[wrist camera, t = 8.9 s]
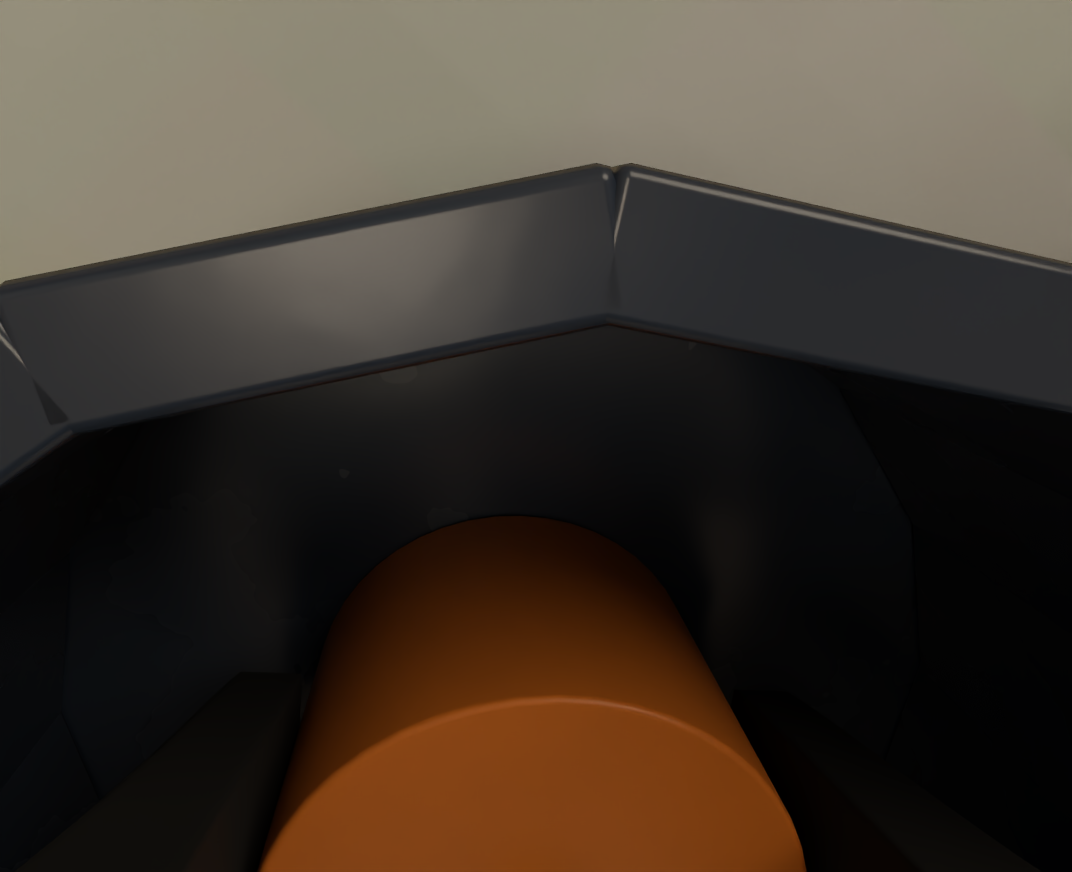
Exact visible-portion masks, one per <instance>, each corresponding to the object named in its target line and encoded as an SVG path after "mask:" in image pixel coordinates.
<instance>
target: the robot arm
mask: <svg viewBox="0 0 1072 872" xmlns="http://www.w3.org/2000/svg"><path fill="white" fill-rule="evenodd" d="M300 706H301V674H295V673H268V672H240V673H238V674H237V675H236V676H235V677H233V678H232V679H231V680H230V681H229V682H227V683H226V684H225V685H224V686H223V687H222V688H221V689H220V690H219V691H218V692H217V693H216V694H215V695H214V696H213V697H212V698H211V699H209V700H208V701H207V702H206V703H205V704H204V705H203V706H202V707H201V708H200V709H199V710H198V711H197V712H196V713H195V714H194V715H193V716H192V717H191V718H190V719H189V720H188V721H186V722H185V723H184V724H183V725H182V726H181V727H180V728H179V729H178V730H177V731H176V732H175V733H174V734H173V735H172V736H171V737H169V738H168V739H167V740H166V741H165V742H164V743H163V744H162V745H161V746H160V747H159V748H158V749H157V750H156V751H155V752H153V753H152V754H151V755H150V756H149V757H148V758H147V759H146V760H145V761H144V762H142V763H141V764H140V765H139V766H138V767H137V768H136V769H135V770H133V771H132V772H131V773H130V774H129V775H128V776H127V777H126V778H124V779H123V780H122V781H121V782H120V783H119V784H118V785H117V786H115V787H114V788H113V789H112V790H111V791H110V792H109V793H108V794H106V795H105V796H104V797H103V798H102V799H101V800H100V801H99V802H98V803H96V804H95V805H94V806H93V807H92V808H91V809H90V810H88V811H87V812H86V813H85V814H84V815H83V816H81V817H80V818H79V819H78V820H77V821H76V822H74V823H73V824H72V825H71V826H70V827H68V828H67V829H66V830H65V831H63V832H62V833H61V834H60V835H59V836H57V837H56V838H55V839H54V840H52V841H51V842H50V843H49V844H47V845H46V846H45V847H44V848H43V849H41V850H40V851H39V852H38V853H36V854H35V855H34V856H33V857H32V858H30V859H29V860H28V861H27V862H25V863H24V864H23V865H22V866H20V867H19V868H18V869H17V870H16V871H14V872H257V869H258V866H259V862H260V859H261V856H262V852H263V849H264V846H265V842H266V839H267V835H268V832H269V829H270V825H271V822H272V818H273V815H274V812H275V808H276V805H277V802H278V798H279V795H280V791H281V788H282V785H283V781H284V778H285V774H286V771H287V768H288V764H289V761H290V758H291V754H292V751H293V747H294V744H295V741H296V737H297V734H298V730H299V727H300ZM731 709H732V711H733V713H734V714H735V716H736V718H737V720H738V722H739V724H740V725H741V727H742V729H743V731H744V733H745V735H746V736H747V738H748V740H749V742H750V744H751V746H752V747H753V749H754V751H755V753H756V755H757V757H758V758H759V760H760V762H761V764H762V766H763V768H764V769H765V771H766V773H767V775H768V777H769V779H770V780H771V782H772V784H773V786H774V788H775V790H776V791H777V793H778V795H779V797H780V799H781V801H782V802H783V804H784V806H785V808H786V810H787V811H788V813H789V815H790V817H791V819H792V821H793V824H794V827H795V829H796V832H797V835H798V837H799V840H800V843H801V845H802V849H803V855H804V860H805V865H806V870H807V872H1042V871H1040V870H1039V869H1037V868H1036V867H1034V866H1033V865H1031V864H1030V863H1028V862H1027V861H1025V860H1024V859H1022V858H1021V857H1019V856H1018V855H1016V854H1015V853H1013V852H1012V851H1010V850H1009V849H1007V848H1006V847H1004V846H1003V845H1002V844H1000V843H999V842H997V841H996V840H994V839H993V838H992V837H990V836H989V835H987V834H986V833H984V832H983V831H982V830H980V829H979V828H977V827H976V826H974V825H973V824H972V823H970V822H969V821H967V820H966V819H965V818H963V817H962V816H960V815H959V814H958V813H956V812H955V811H953V810H952V809H951V808H949V807H948V806H946V805H945V804H944V803H942V802H941V801H939V800H938V799H937V798H935V797H934V796H933V795H931V794H930V793H928V792H927V791H926V790H924V789H923V788H922V787H920V786H919V785H917V784H916V783H915V782H913V781H912V780H911V779H909V778H908V777H907V776H905V775H904V774H903V773H901V772H900V771H898V770H897V769H896V768H894V767H893V766H892V765H890V764H889V763H888V762H886V761H885V760H884V759H882V758H881V757H879V756H878V755H877V754H875V753H874V752H873V751H871V750H870V749H869V748H867V747H866V746H865V745H863V744H862V743H861V742H859V741H858V740H856V739H855V738H854V737H852V736H851V735H850V734H848V733H847V732H846V731H844V730H843V729H841V728H840V727H839V726H837V725H836V724H834V723H833V722H832V721H830V720H829V719H828V718H826V717H825V716H823V715H822V714H820V713H819V712H818V711H816V710H815V709H813V708H812V707H810V706H809V705H807V704H806V703H804V702H803V701H801V700H800V699H798V698H796V697H795V696H793V695H792V694H790V693H788V692H786V691H759V690H734V692H733V697H732V702H731Z"/></svg>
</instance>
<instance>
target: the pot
mask: <svg viewBox="0 0 1072 872" xmlns="http://www.w3.org/2000/svg"><path fill="white" fill-rule="evenodd" d="M494 516H531V517H541V518H549V519H553V520H558V521H562V522H567V523H571V524H574V525H577V526H580V527H582V528H585V529H588V530H591V531H594V532H596V533H598V534H600V535H602V536H603V537H605V538H607V539H609V540H611V541H613V542H615V543H617V544H618V545H620V546H621V547H622V548H624V549H625V550H627V551H628V552H630V553H631V554H632V555H634V556H635V557H636V558H637V559H638V560H639V561H640V562H642V563H643V564H644V565H645V566H646V567H647V568H648V569H649V570H650V571H651V572H652V573H653V574H654V576H655V577H656V578H657V579H658V581H659V582H660V583H661V584H662V586H663V587H664V588H665V589H666V591H667V593H668V594H669V596H670V598H671V600H672V601H673V603H674V605H675V607H676V608H677V610H678V612H679V614H680V616H681V617H682V619H683V621H684V623H685V625H686V627H687V628H688V630H689V632H690V634H691V636H692V638H693V639H694V641H695V643H696V645H697V647H698V649H699V650H700V652H701V654H702V656H703V658H704V660H705V661H706V663H707V665H708V667H709V669H710V671H711V672H712V674H713V676H714V678H715V680H716V681H717V683H718V685H719V687H720V689H721V691H722V692H723V694H724V696H725V698H726V700H727V702H728V703H729V705H730V707H731V702H732V697H733V692H734V690H759V691H786V692H788V693H790V694H792V695H793V696H795V697H796V698H798V699H800V700H801V701H803V702H804V703H806V704H807V705H809V706H810V707H812V708H813V709H815V710H816V711H818V712H819V713H820V714H822V715H823V716H825V717H826V718H828V719H829V720H830V721H832V722H833V723H834V724H836V725H837V726H839V727H840V728H841V729H843V730H844V731H846V732H847V733H848V734H850V735H851V736H852V737H854V738H855V739H856V740H858V741H859V742H861V743H862V744H863V745H865V746H866V747H867V748H869V749H870V750H871V751H873V752H874V753H875V754H877V755H878V756H879V757H881V758H882V759H884V760H885V761H886V762H888V763H889V764H890V765H892V766H893V767H894V768H896V769H897V770H898V771H900V772H901V773H903V774H904V775H905V776H907V777H908V778H909V779H911V780H912V781H913V782H915V783H916V784H917V785H919V786H920V787H922V788H923V789H924V790H926V791H927V792H928V793H930V794H931V795H933V796H934V797H935V798H937V799H938V800H939V801H941V802H942V803H944V804H945V805H946V806H948V807H949V808H951V809H952V810H953V811H955V812H956V813H958V814H959V815H960V816H962V817H963V818H965V819H966V820H967V821H969V822H970V823H972V824H973V825H974V826H976V827H977V828H979V829H980V830H982V831H983V832H984V833H986V834H987V835H989V836H990V837H992V838H993V839H994V840H996V841H997V842H999V843H1000V844H1002V845H1003V846H1004V847H1006V848H1007V849H1009V850H1010V851H1012V852H1013V853H1015V854H1016V855H1018V856H1019V857H1021V858H1022V859H1024V860H1025V861H1027V862H1028V863H1030V864H1031V865H1033V866H1034V867H1036V868H1037V869H1039V870H1040V871H1042V872H1072V263H1068V262H1064V261H1059V260H1055V259H1050V258H1046V257H1042V256H1037V255H1033V254H1028V253H1024V252H1020V251H1015V250H1011V249H1006V248H1002V247H998V246H993V245H989V244H985V243H980V242H976V241H971V240H967V239H963V238H958V237H954V236H949V235H945V234H941V233H936V232H932V231H927V230H923V229H919V228H914V227H910V226H905V225H901V224H897V223H892V222H888V221H884V220H879V219H875V218H870V217H866V216H862V215H857V214H853V213H848V212H844V211H840V210H835V209H831V208H826V207H822V206H818V205H813V204H809V203H805V202H800V201H796V200H791V199H787V198H783V197H778V196H774V195H769V194H765V193H761V192H756V191H752V190H747V189H743V188H739V187H734V186H730V185H725V184H721V183H717V182H712V181H708V180H703V179H699V178H695V177H690V176H686V175H682V174H677V173H673V172H668V171H664V170H660V169H655V168H651V167H646V166H642V165H638V164H633V163H629V164H624V165H619V166H615V167H610V166H606V165H602V164H598V163H595V164H590V165H585V166H580V167H575V168H570V169H565V170H560V171H555V172H550V173H545V174H540V175H535V176H530V177H525V178H520V179H514V180H509V181H504V182H499V183H494V184H489V185H484V186H479V187H474V188H469V189H464V190H459V191H454V192H449V193H444V194H439V195H434V196H429V197H424V198H419V199H414V200H409V201H404V202H399V203H394V204H389V205H384V206H379V207H374V208H369V209H364V210H359V211H354V212H349V213H344V214H339V215H334V216H329V217H324V218H319V219H314V220H309V221H304V222H299V223H294V224H289V225H284V226H279V227H274V228H269V229H264V230H259V231H254V232H249V233H244V234H239V235H233V236H228V237H223V238H218V239H213V240H208V241H203V242H198V243H193V244H188V245H183V246H178V247H173V248H168V249H163V250H158V251H153V252H148V253H143V254H138V255H133V256H128V257H123V258H118V259H113V260H108V261H103V262H98V263H93V264H88V265H83V266H78V267H73V268H68V269H63V270H58V271H53V272H48V273H43V274H38V275H33V276H28V277H23V278H18V279H13V280H8V281H5V282H3V283H2V284H0V872H14V871H16V870H17V869H18V868H19V867H20V866H22V865H23V864H24V863H25V862H27V861H28V860H29V859H30V858H32V857H33V856H34V855H35V854H36V853H38V852H39V851H40V850H41V849H43V848H44V847H45V846H46V845H47V844H49V843H50V842H51V841H52V840H54V839H55V838H56V837H57V836H59V835H60V834H61V833H62V832H63V831H65V830H66V829H67V828H68V827H70V826H71V825H72V824H73V823H74V822H76V821H77V820H78V819H79V818H80V817H81V816H83V815H84V814H85V813H86V812H87V811H88V810H90V809H91V808H92V807H93V806H94V805H95V804H96V803H98V802H99V801H100V800H101V799H102V798H103V797H104V796H105V795H106V794H108V793H109V792H110V791H111V790H112V789H113V788H114V787H115V786H117V785H118V784H119V783H120V782H121V781H122V780H123V779H124V778H126V777H127V776H128V775H129V774H130V773H131V772H132V771H133V770H135V769H136V768H137V767H138V766H139V765H140V764H141V763H142V762H144V761H145V760H146V759H147V758H148V757H149V756H150V755H151V754H152V753H153V752H155V751H156V750H157V749H158V748H159V747H160V746H161V745H162V744H163V743H164V742H165V741H166V740H167V739H168V738H169V737H171V736H172V735H173V734H174V733H175V732H176V731H177V730H178V729H179V728H180V727H181V726H182V725H183V724H184V723H185V722H186V721H188V720H189V719H190V718H191V717H192V716H193V715H194V714H195V713H196V712H197V711H198V710H199V709H200V708H201V707H202V706H203V705H204V704H205V703H206V702H207V701H208V700H209V699H211V698H212V697H213V696H214V695H215V694H216V693H217V692H218V691H219V690H220V689H221V688H222V687H223V686H224V685H225V684H226V683H227V682H229V681H230V680H231V679H232V678H233V677H235V676H236V675H237V674H238V673H240V672H268V673H295V674H301V706H300V724H301V720H302V717H303V713H304V710H305V707H306V703H307V700H308V697H309V693H310V690H311V686H312V683H313V680H314V676H315V673H316V669H317V666H318V663H319V659H320V656H321V653H322V649H323V646H324V643H325V640H326V638H327V635H328V633H329V630H330V628H331V625H332V623H333V621H334V619H335V617H336V616H337V614H338V612H339V610H340V609H341V607H342V605H343V603H344V602H345V600H346V599H347V598H348V597H349V595H350V594H351V593H352V591H353V590H354V589H355V587H356V586H357V585H358V584H359V582H360V581H361V580H363V579H364V578H365V577H366V576H367V575H368V574H369V573H370V572H371V571H372V570H373V569H374V568H375V567H376V566H377V565H378V564H379V563H381V562H382V561H383V560H385V559H386V558H387V557H389V556H390V555H391V554H393V553H394V552H395V551H397V550H398V549H400V548H402V547H404V546H405V545H407V544H409V543H411V542H412V541H414V540H416V539H418V538H419V537H422V536H424V535H426V534H429V533H431V532H434V531H436V530H438V529H441V528H443V527H447V526H450V525H454V524H457V523H461V522H465V521H468V520H474V519H481V518H487V517H494Z"/></svg>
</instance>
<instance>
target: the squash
mask: <svg viewBox="0 0 1072 872" xmlns="http://www.w3.org/2000/svg"><path fill="white" fill-rule="evenodd" d="M257 872H807V870H806V865H805V860H804V855H803V849H802V845H801V843H800V840H799V837H798V835H797V832H796V829H795V827H794V824H793V821H792V819H791V817H790V815H789V813H788V811H787V810H786V808H785V806H784V804H783V802H782V801H781V799H780V797H779V795H778V793H777V791H776V790H775V788H774V786H773V784H772V782H771V780H770V779H769V777H768V775H767V773H766V771H765V769H764V768H763V766H762V764H761V762H760V760H759V758H758V757H757V755H756V753H755V751H754V749H753V747H752V746H751V744H750V742H749V740H748V738H747V736H746V735H745V733H744V731H743V729H742V727H741V725H740V724H739V722H738V720H737V718H736V716H735V714H734V713H733V711H732V709H731V707H730V705H729V703H728V702H727V700H726V698H725V696H724V694H723V692H722V691H721V689H720V687H719V685H718V683H717V681H716V680H715V678H714V676H713V674H712V672H711V671H710V669H709V667H708V665H707V663H706V661H705V660H704V658H703V656H702V654H701V652H700V650H699V649H698V647H697V645H696V643H695V641H694V639H693V638H692V636H691V634H690V632H689V630H688V628H687V627H686V625H685V623H684V621H683V619H682V617H681V616H680V614H679V612H678V610H677V608H676V607H675V605H674V603H673V601H672V600H671V598H670V596H669V594H668V593H667V591H666V589H665V588H664V587H663V586H662V584H661V583H660V582H659V581H658V579H657V578H656V577H655V576H654V574H653V573H652V572H651V571H650V570H649V569H648V568H647V567H646V566H645V565H644V564H643V563H642V562H640V561H639V560H638V559H637V558H636V557H635V556H634V555H632V554H631V553H630V552H628V551H627V550H625V549H624V548H622V547H621V546H620V545H618V544H617V543H615V542H613V541H611V540H609V539H607V538H605V537H603V536H602V535H600V534H598V533H596V532H594V531H591V530H588V529H585V528H582V527H580V526H577V525H574V524H571V523H567V522H562V521H558V520H553V519H549V518H541V517H531V516H494V517H487V518H481V519H474V520H468V521H465V522H461V523H457V524H454V525H450V526H447V527H443V528H441V529H438V530H436V531H434V532H431V533H429V534H426V535H424V536H422V537H419V538H418V539H416V540H414V541H412V542H411V543H409V544H407V545H405V546H404V547H402V548H400V549H398V550H397V551H395V552H394V553H393V554H391V555H390V556H389V557H387V558H386V559H385V560H383V561H382V562H381V563H379V564H378V565H377V566H376V567H375V568H374V569H373V570H372V571H371V572H370V573H369V574H368V575H367V576H366V577H365V578H364V579H363V580H361V581H360V582H359V584H358V585H357V586H356V587H355V589H354V590H353V591H352V593H351V594H350V595H349V597H348V598H347V599H346V600H345V602H344V603H343V605H342V607H341V609H340V610H339V612H338V614H337V616H336V617H335V619H334V621H333V623H332V625H331V628H330V630H329V633H328V635H327V638H326V640H325V643H324V646H323V649H322V653H321V656H320V659H319V663H318V666H317V669H316V673H315V676H314V680H313V683H312V686H311V690H310V693H309V697H308V700H307V703H306V707H305V710H304V713H303V717H302V720H301V724H300V727H299V730H298V734H297V737H296V741H295V744H294V747H293V751H292V754H291V758H290V761H289V764H288V768H287V771H286V774H285V778H284V781H283V785H282V788H281V791H280V795H279V798H278V802H277V805H276V808H275V812H274V815H273V818H272V822H271V825H270V829H269V832H268V835H267V839H266V842H265V846H264V849H263V852H262V856H261V859H260V862H259V866H258V869H257Z"/></svg>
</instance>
